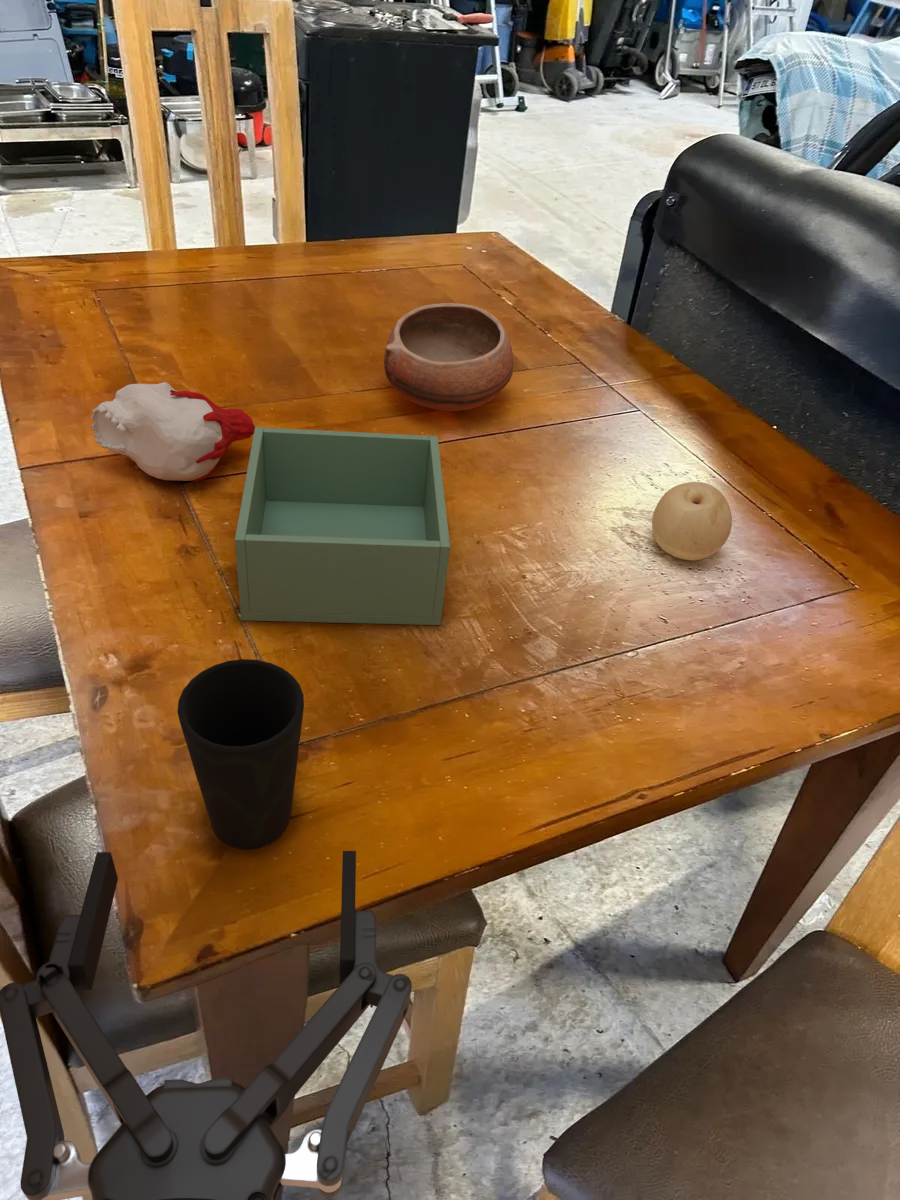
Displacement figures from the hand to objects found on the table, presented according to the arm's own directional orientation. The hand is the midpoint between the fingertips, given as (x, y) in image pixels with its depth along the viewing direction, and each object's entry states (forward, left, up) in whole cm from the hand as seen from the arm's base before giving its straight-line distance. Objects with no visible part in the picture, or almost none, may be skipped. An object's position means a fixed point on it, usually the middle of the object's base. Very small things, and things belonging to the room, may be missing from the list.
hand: (230, 863), depth 51 cm
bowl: (+18, +71, -8) cm, 74 cm away
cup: (0, +9, -8) cm, 12 cm away
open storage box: (+6, +38, -8) cm, 39 cm away
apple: (+41, +42, -8) cm, 59 cm away
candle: (-11, +53, -8) cm, 55 cm away
